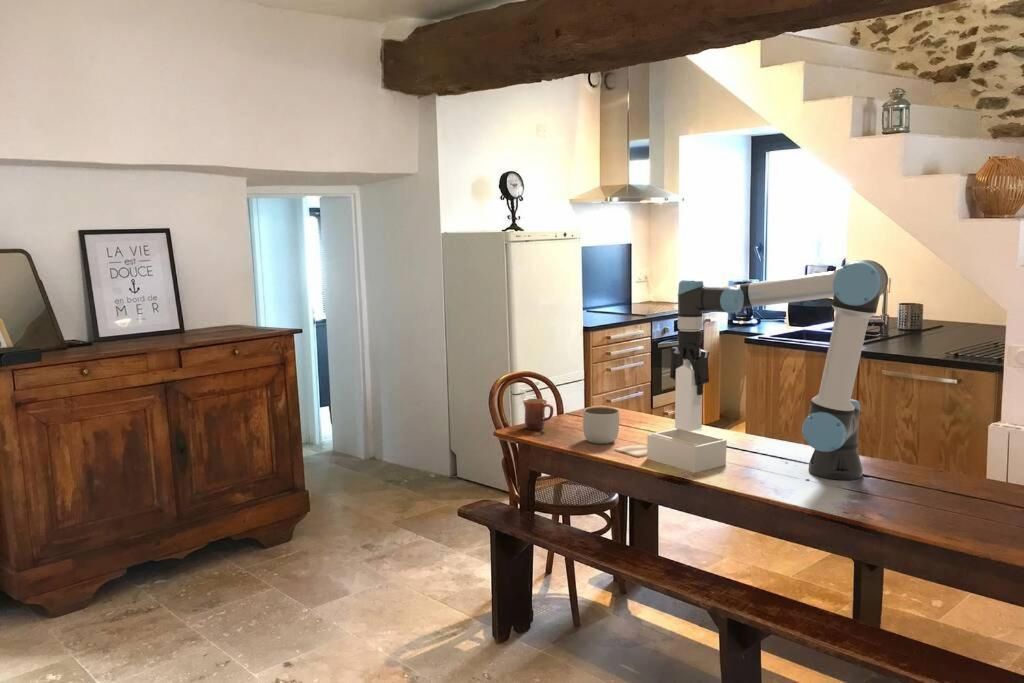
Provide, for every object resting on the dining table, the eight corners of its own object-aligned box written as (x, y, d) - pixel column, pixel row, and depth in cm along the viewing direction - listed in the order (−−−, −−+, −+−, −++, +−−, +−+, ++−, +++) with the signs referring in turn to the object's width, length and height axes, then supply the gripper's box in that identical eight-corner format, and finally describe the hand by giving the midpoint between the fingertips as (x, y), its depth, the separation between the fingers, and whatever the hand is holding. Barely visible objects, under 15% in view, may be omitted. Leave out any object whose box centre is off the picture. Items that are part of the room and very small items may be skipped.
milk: (701, 428, 260) (703, 358, 257) (690, 431, 256) (692, 360, 253) (685, 425, 264) (687, 356, 261) (674, 428, 260) (675, 358, 257)
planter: (618, 446, 280) (618, 415, 278) (581, 445, 282) (581, 413, 280) (619, 437, 292) (619, 407, 291) (584, 436, 294) (584, 406, 292)
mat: (661, 452, 273) (662, 450, 273) (638, 457, 266) (638, 455, 266) (637, 445, 282) (637, 443, 281) (614, 450, 275) (614, 448, 275)
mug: (518, 429, 305) (518, 401, 303) (530, 424, 312) (530, 397, 311) (546, 433, 298) (546, 405, 297) (558, 428, 306) (558, 401, 304)
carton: (725, 465, 258) (726, 438, 257) (694, 473, 249) (695, 445, 248) (678, 451, 274) (678, 426, 272) (646, 458, 265) (647, 433, 264)
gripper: (722, 331, 250) (721, 406, 253) (674, 326, 266) (673, 397, 269) (706, 333, 246) (704, 409, 249) (658, 328, 261) (657, 400, 264)
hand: (688, 403), depth 259 cm, fingers closed on milk, 6 cm apart
